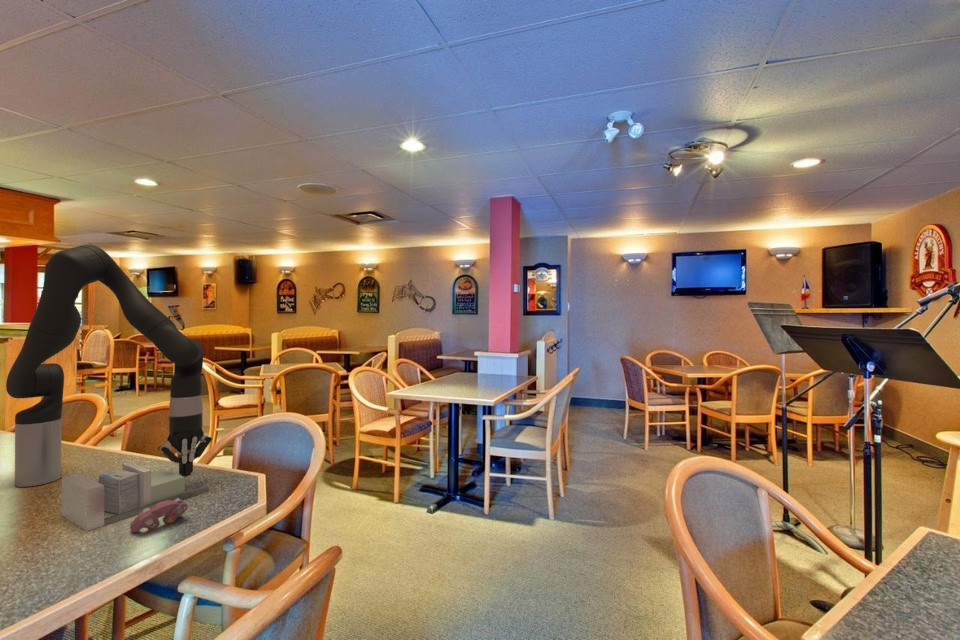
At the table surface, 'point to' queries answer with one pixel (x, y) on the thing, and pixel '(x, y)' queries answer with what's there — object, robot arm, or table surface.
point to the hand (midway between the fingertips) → (185, 475)
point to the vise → (97, 502)
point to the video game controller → (159, 514)
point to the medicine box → (120, 491)
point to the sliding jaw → (156, 484)
